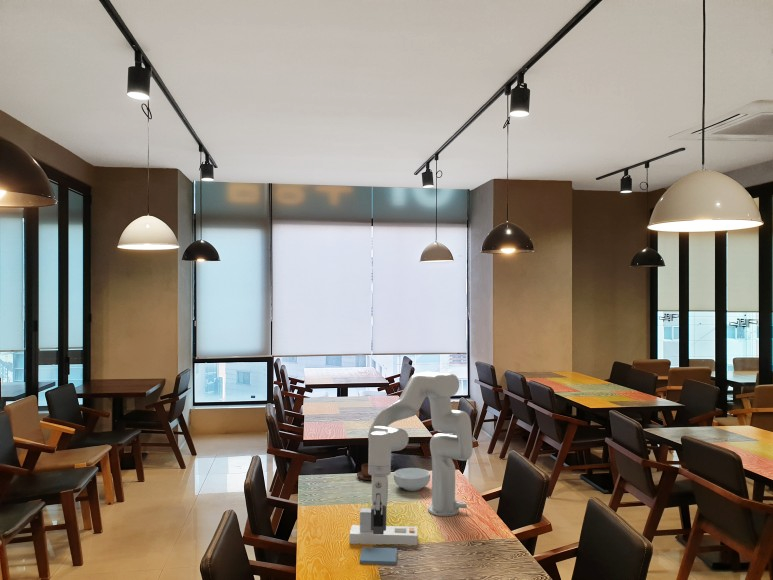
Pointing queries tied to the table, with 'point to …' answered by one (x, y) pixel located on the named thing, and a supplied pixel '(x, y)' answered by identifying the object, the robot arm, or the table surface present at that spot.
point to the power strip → (384, 536)
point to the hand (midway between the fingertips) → (378, 522)
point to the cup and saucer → (364, 473)
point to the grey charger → (365, 520)
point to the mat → (378, 555)
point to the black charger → (381, 529)
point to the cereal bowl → (412, 478)
